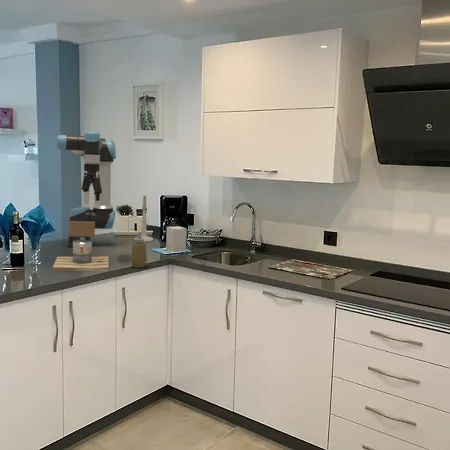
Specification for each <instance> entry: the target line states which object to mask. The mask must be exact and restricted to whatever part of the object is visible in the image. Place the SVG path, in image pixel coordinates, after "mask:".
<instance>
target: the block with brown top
mask: <svg viewBox="0 0 450 450" xmlns="http://www.w3.org/2000/svg"><path fill="white" fill-rule="evenodd" d="M69 233H70V236H80V240H76V241H73V247H72V255H73V254H74V255H90V254H91V255H92V248H93V247H92V246H93V240H92V241H88V240H85V236H91V237H95V236H96V229H95V222H82V221H70V220H69Z"/></svg>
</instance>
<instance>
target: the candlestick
mask: <svg viewBox="0 0 450 450" xmlns="http://www.w3.org/2000/svg"><path fill="white" fill-rule="evenodd" d="M142 199H143V200H142V205H141V207H142V221H141V231H140V232H141V237H142V239H144V241H151V240H153V239H154V238H153V237H151V236H148V234H147V211H146V209H147V207H148V206H147V195H143V196H142ZM136 238H137V236H136V237H134V239H133V241H134V240H135V239H136ZM153 241H154V240H153ZM151 242H152V241H151Z"/></svg>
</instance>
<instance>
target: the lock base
mask: <svg viewBox="0 0 450 450" xmlns="http://www.w3.org/2000/svg"><path fill="white" fill-rule="evenodd" d="M109 259H110V258H109V256H104V255H103V256H102V255H101V256H99V255H97V256H92V253H91V254H90V255H74V254H73V253H72V256H57V257H56V259H55V261H54V264H53V266H52V273H59V272H60V273H73V272H75V273H77V272H78V273H84V272H86V273H87V272H101V273H102V272H107V273H108V272H110V271H109V268H110V265H109V261H110V260H109Z"/></svg>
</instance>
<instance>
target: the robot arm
mask: <svg viewBox="0 0 450 450" xmlns="http://www.w3.org/2000/svg"><path fill="white" fill-rule="evenodd" d="M83 134H84V135H70V134H69V135H67V134H59V135H58V136H57V137H56V147H57V149H58V150H60V151H70V152H71V153H72V154H74V155H76V156H78V157H82V158H83V162H84V164H83V170H84V172H83V179H82V184H81V190H82V192H83V200H82V201H83V205H85V206H79V207H74V208H71V209H70V210H69V216H68V217H69V222H70V221H82V222H95V230H98V229H99V230H100V229H101V230H111V229H112V228H113V227H114V224H115V217H116V210H115V209H114V206H113V205H112V204H111V184H112V183H111V181H112V180H111V179H112V176H111V175H112V173H111V171H112V170H111V169H112V164H113V163H114V160H116V159H117V152H116V145H115V141H114V140H113V139H112V138H105V137H104V138H102V137H100V135H101V133H100V132H97V131H85V132H84V133H83ZM91 186H92V189H93V192H94V193H93V206H92V207H93V208H92V209H90V208H91V207H90V206H86V205H90V187H91ZM76 240H80V236H70V232H68V236H67V240H66V243H65V244H66V246H67V247H69V248H73V241H76ZM85 240H88V241H92V242H93V238H92V236H85Z"/></svg>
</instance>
